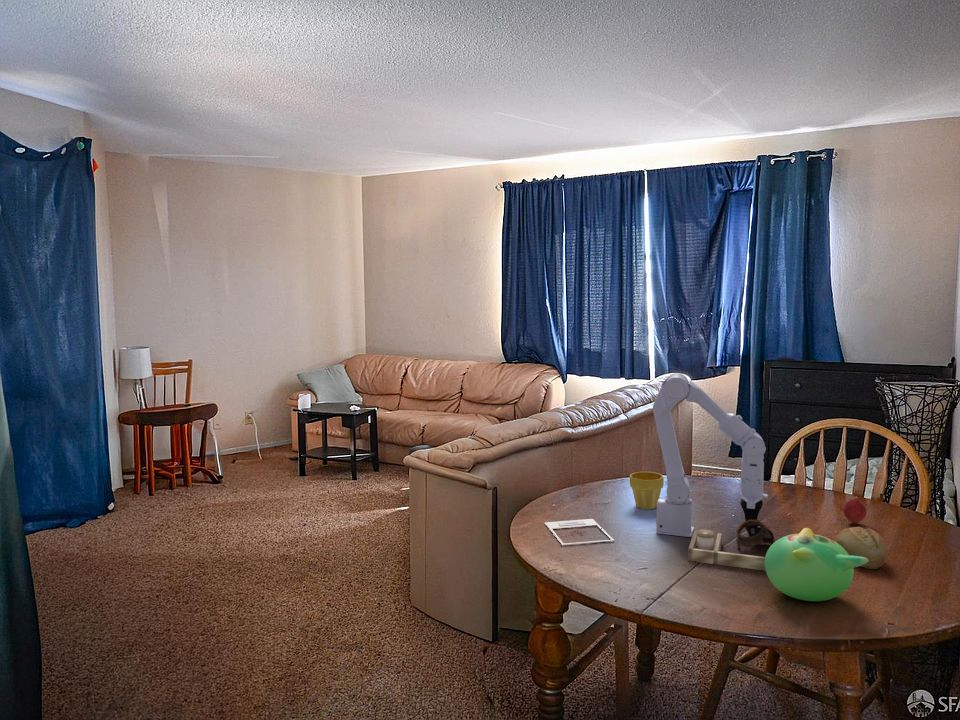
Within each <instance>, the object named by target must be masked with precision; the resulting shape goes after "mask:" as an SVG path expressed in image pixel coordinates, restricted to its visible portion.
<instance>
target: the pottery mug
mask: <svg viewBox="0 0 960 720" xmlns="http://www.w3.org/2000/svg"><path fill="white" fill-rule="evenodd" d="M744 529H745V531H746V533H747V534H748V536H743V535H742V534H741V532H742V531H743V530H744ZM736 533H737V534H736V539H735V541H736V545H737V548H740V547H745V548H746V547H747V548H751V547H756V546H757V545H761V546H765V544H770V545H772V544H773V543H774V542H775V541H776V539H775V537H774V536H775V535H774V533H773V531H772V529H770V527H769V526H767V525H766V524H764V523H763V522H762V521H760V520H758V519H757V520H753V519H751V518H750V519H748V520H747V521H746V520H744V521H743V522H742V523H741V524H739V526H737V528H736ZM764 543H765V544H764Z"/></svg>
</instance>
